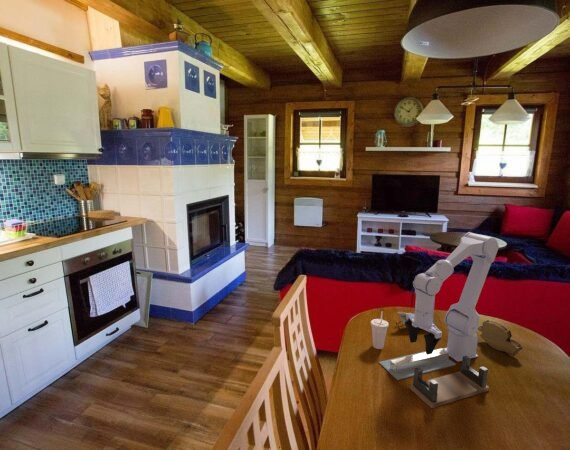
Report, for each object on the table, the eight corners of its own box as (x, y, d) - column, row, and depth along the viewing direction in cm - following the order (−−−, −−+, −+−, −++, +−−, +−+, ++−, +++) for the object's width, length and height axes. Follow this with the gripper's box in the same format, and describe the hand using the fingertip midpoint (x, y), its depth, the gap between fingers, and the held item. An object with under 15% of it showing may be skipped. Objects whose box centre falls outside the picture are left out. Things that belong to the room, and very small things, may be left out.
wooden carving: (523, 358, 122) (527, 332, 120) (515, 361, 120) (519, 335, 118) (480, 336, 137) (483, 313, 135) (472, 339, 135) (475, 315, 133)
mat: (434, 350, 127) (434, 349, 127) (455, 365, 118) (455, 364, 118) (378, 362, 119) (378, 361, 119) (397, 380, 110) (397, 379, 110)
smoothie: (387, 352, 126) (390, 316, 123) (369, 350, 127) (371, 314, 124) (386, 342, 132) (388, 308, 129) (369, 341, 133) (371, 307, 130)
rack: (464, 373, 114) (466, 354, 112) (488, 390, 105) (491, 370, 104) (409, 388, 106) (411, 367, 105) (431, 408, 98) (433, 386, 97)
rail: (441, 355, 123) (442, 348, 122) (448, 360, 120) (449, 352, 119) (389, 368, 115) (390, 360, 115) (395, 373, 113) (396, 365, 112)
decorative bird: (437, 332, 141) (438, 314, 139) (397, 332, 141) (399, 314, 139) (431, 325, 146) (432, 309, 145) (393, 325, 146) (394, 309, 144)
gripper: (399, 303, 119) (397, 339, 122) (430, 321, 106) (427, 361, 108) (416, 300, 121) (413, 335, 124) (448, 318, 108) (444, 357, 111)
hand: (421, 347), depth 116 cm, fingers open, 7 cm apart
